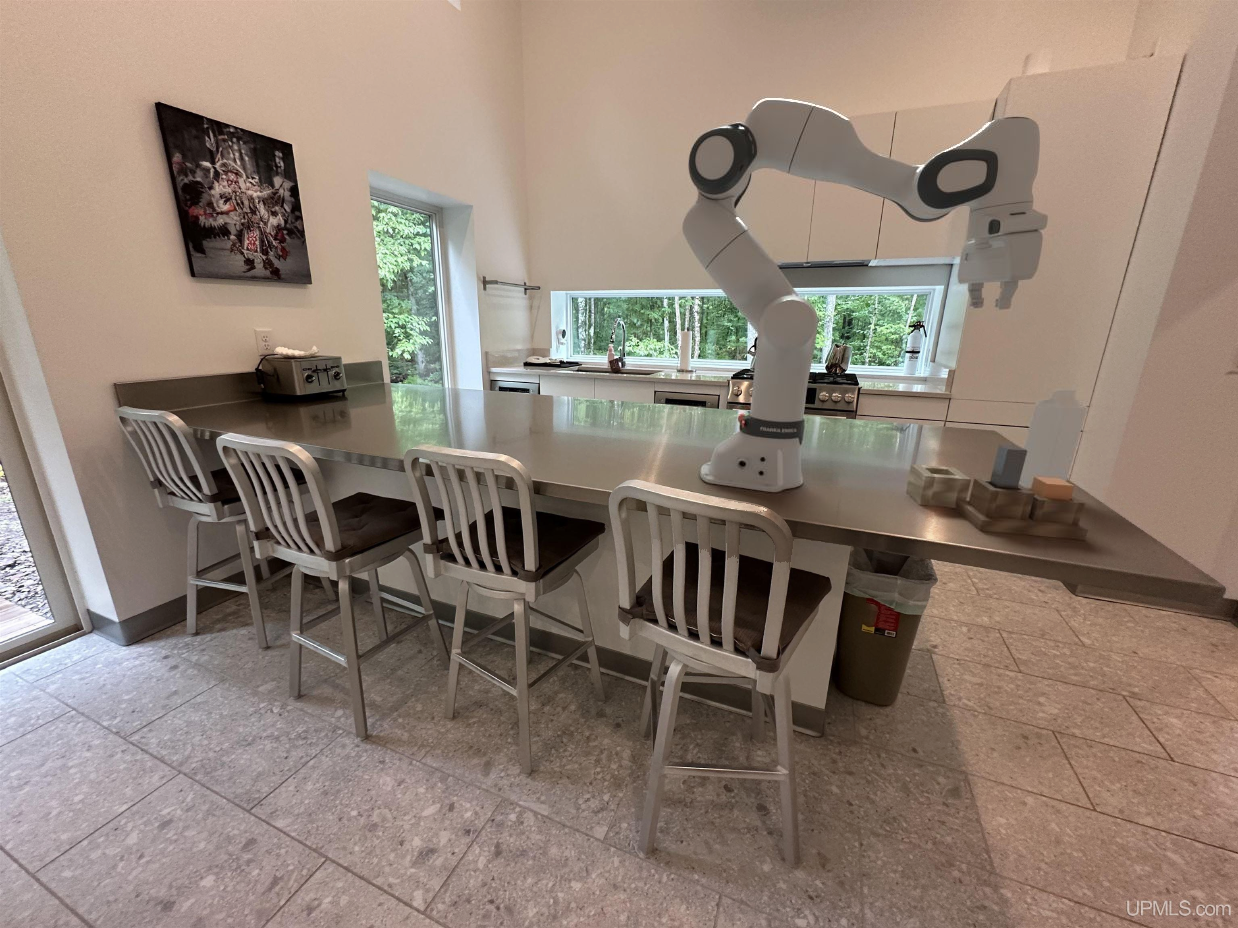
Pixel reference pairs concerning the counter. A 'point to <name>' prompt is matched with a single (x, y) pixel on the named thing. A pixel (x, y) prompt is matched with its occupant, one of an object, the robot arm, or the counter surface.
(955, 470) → the beige hollow block
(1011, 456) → the steel peg
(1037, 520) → the socket base
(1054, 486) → the button
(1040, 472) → the milk
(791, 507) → the counter surface
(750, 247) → the robot arm
